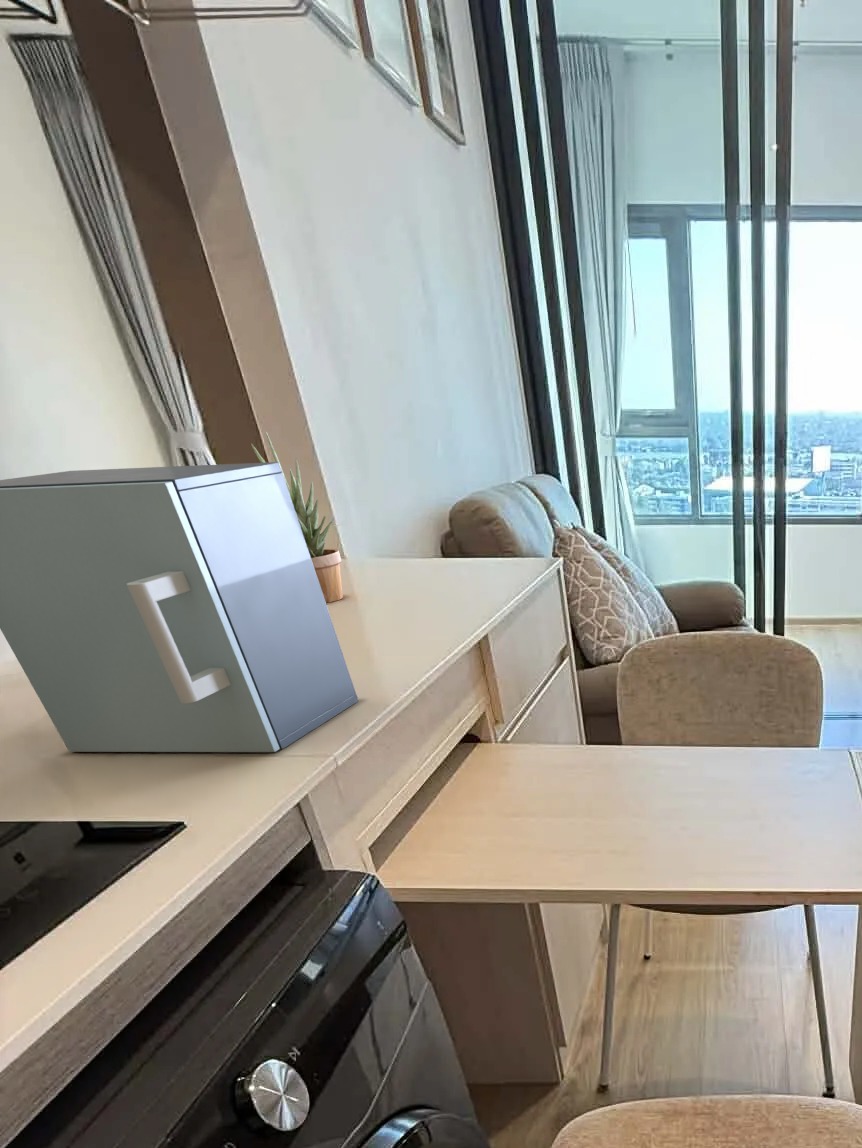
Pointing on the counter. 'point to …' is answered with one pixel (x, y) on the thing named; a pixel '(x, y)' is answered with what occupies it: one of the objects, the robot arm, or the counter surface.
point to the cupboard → (254, 583)
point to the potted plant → (314, 535)
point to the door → (123, 622)
